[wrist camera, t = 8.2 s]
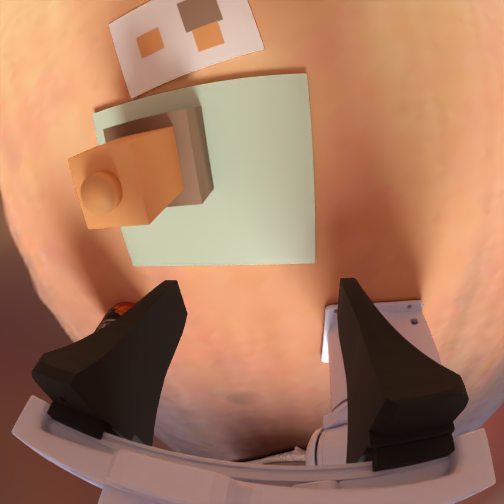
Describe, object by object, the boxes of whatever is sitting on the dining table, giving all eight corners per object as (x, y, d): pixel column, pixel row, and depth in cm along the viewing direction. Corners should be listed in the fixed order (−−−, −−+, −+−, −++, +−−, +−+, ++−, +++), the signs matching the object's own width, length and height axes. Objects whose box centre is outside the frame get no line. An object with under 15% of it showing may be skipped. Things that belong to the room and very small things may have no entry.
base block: (201, 105, 17) (186, 108, 15) (214, 188, 20) (202, 204, 18) (125, 122, 18) (102, 129, 16) (141, 196, 21) (122, 211, 19)
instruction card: (234, -31, 12) (233, -33, 11) (264, 49, 15) (264, 48, 15) (109, 24, 14) (107, 24, 14) (132, 98, 18) (130, 99, 17)
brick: (173, 126, 15) (120, 146, 10) (184, 189, 17) (142, 232, 12) (117, 138, 16) (57, 163, 11) (130, 195, 18) (80, 236, 13)
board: (306, 73, 16) (306, 73, 15) (314, 260, 23) (315, 263, 22) (95, 113, 18) (92, 114, 18) (135, 263, 25) (133, 266, 25)
